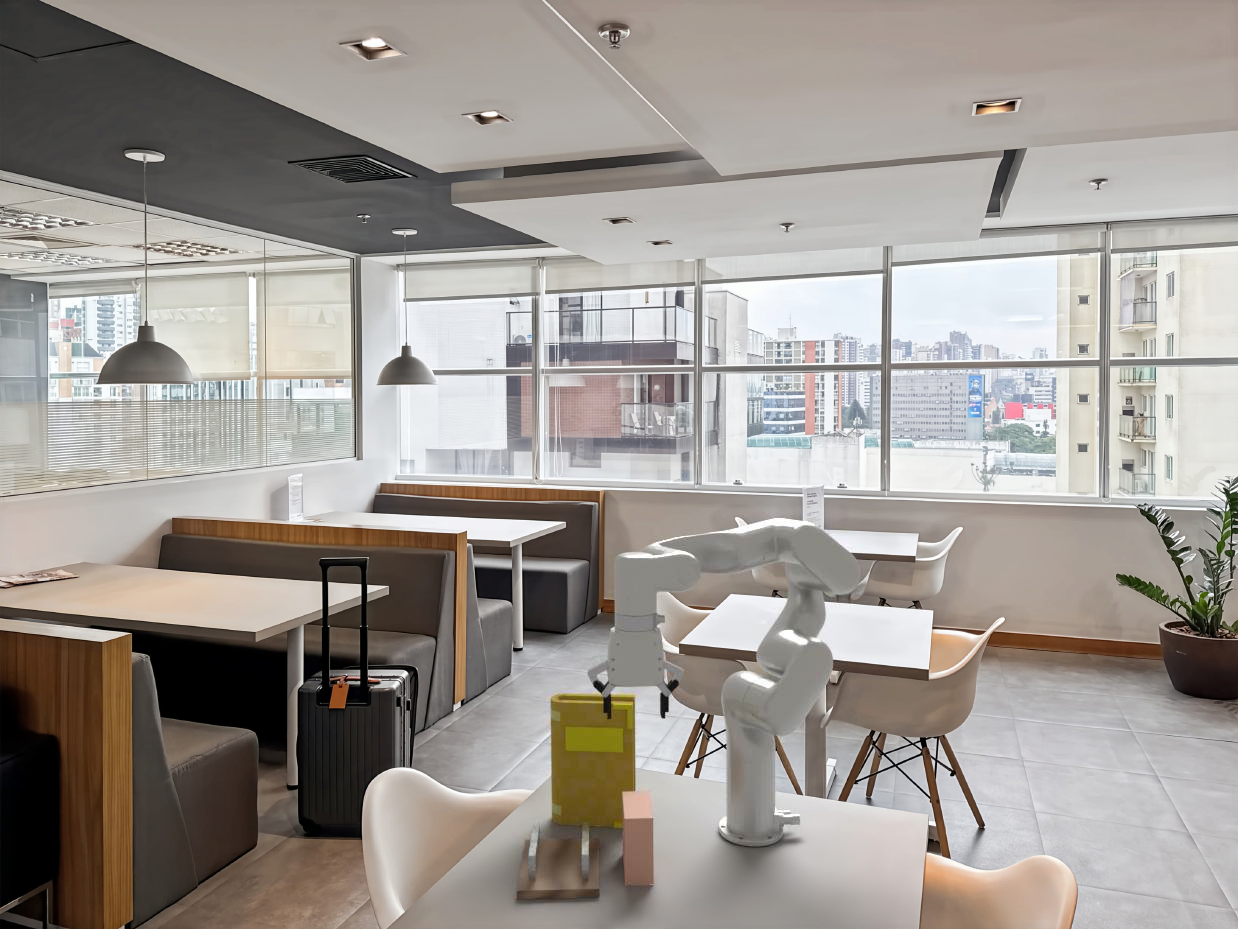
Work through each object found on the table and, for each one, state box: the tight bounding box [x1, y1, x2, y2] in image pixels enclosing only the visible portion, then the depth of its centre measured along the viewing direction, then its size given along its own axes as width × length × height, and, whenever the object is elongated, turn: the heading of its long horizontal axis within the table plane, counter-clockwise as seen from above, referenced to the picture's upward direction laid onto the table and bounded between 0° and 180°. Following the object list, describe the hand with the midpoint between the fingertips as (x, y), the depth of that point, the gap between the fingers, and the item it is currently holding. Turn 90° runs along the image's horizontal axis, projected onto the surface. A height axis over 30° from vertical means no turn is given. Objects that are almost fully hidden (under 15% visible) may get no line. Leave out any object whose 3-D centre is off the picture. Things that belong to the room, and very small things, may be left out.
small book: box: [622, 790, 655, 886], centre depth 155 cm, size 5×11×12 cm, turn 2°
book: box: [550, 692, 637, 829], centre depth 174 cm, size 17×7×25 cm, turn 84°
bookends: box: [528, 822, 590, 881], centre depth 155 cm, size 10×12×4 cm
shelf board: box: [516, 837, 600, 900], centre depth 155 cm, size 14×18×2 cm
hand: (635, 716), depth 154 cm, fingers open, 9 cm apart
